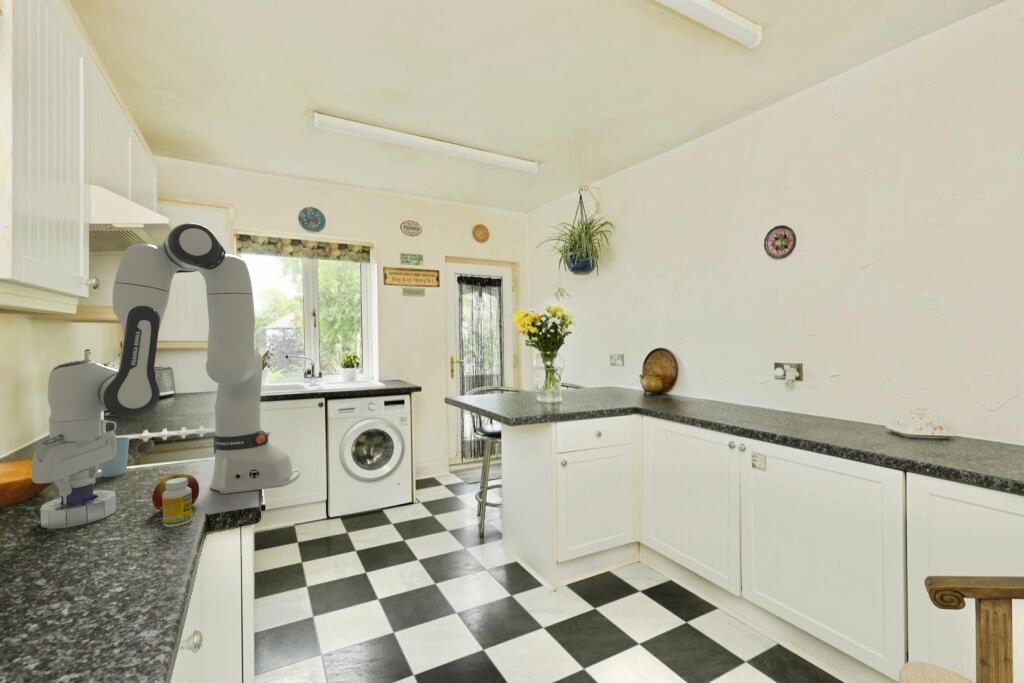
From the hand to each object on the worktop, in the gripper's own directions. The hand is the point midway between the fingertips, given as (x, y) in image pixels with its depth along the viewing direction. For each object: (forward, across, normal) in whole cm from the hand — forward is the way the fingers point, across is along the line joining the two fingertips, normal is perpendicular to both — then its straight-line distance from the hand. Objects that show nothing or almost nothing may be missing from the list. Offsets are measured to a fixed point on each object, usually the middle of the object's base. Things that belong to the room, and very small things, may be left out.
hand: (78, 489), depth 107 cm
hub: (+6, 0, 0) cm, 6 cm away
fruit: (+6, +1, -20) cm, 21 cm away
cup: (+7, +35, +15) cm, 39 cm away
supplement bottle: (+6, -8, -25) cm, 27 cm away
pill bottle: (+6, 0, 0) cm, 6 cm away
